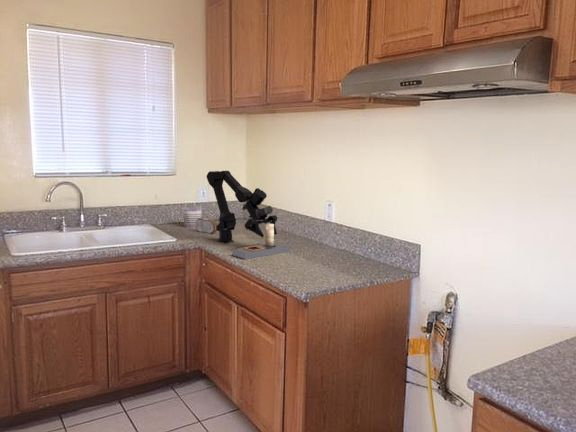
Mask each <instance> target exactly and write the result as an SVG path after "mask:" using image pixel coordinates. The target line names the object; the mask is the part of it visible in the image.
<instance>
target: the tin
mask: <svg viewBox="0 0 576 432" xmlns="http://www.w3.org/2000/svg"><path fill="white" fill-rule="evenodd" d="M217 225H218V224H217V222H216V221H215V220H214V219H213V218H212V219H211V218H205V217H202V218H200V219H198V220H197V221H196V228H195V229H196V230H197V231H198V232H199V233H203V234H210V235H211V234H216V233H217V232H218V231H217V229H216V226H217Z"/></svg>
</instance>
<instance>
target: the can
mask: <svg viewBox="0 0 576 432" xmlns="http://www.w3.org/2000/svg"><path fill="white" fill-rule="evenodd" d="M182 209H183V228H185V229H197V228H196V221H197V220H198V219H200V218H203V217H202V216H203V215H202V209H203V207H200V206H196V205H194V206H184V207H183V208H182Z"/></svg>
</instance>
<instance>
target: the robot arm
mask: <svg viewBox="0 0 576 432" xmlns="http://www.w3.org/2000/svg"><path fill="white" fill-rule="evenodd" d="M206 179H207V182H208V185H209V186H210V187H212V189H213V193H214V195H215V199H216V203H217V207H218V210H219V213H220V214H219V218H218V220H219V223H218V224H217V226H216V229H217V231H216V232H218V233H219V234H218V235H219V240H217V242H218V243H223V244H227V243H233V242H234V239H233V233H232V232H233V231H234V230H235V227H236V224H237V218H236V214H235V212H231V211H230V208H229V205H228V202H227V197H226V195H225V194H226V193H225V191H224V188H223V183H224V182H225V183H226V184H227V185H228V187H229V188H230V189H231V190H232V191H233V192H234V196H235V198H236V200H237V201H238V202H239V203H244V204H243V206H242V210H243V211H244V210H246V211H247V213H248V214H249V216H248V219H247V221H246V222H245V224H244V228H245V230H248V231H250V232H252V233H254V234H256V235H258V236H259V237H260V238H264V237H265V236H264V233H263V232H262V229H261V227H260V225H262V224H263V225H264V224H265V225H266V224H269V223H270V224H274V236H275V235H277V234H278V232H277V229H276V222H277V221H278V219H279V218H278V216H277V215H275V214H272V213H273V211H274V210H273V207H272V206H271V205H267V206H266V207H263V208H260V207H259V206H261V205H262V203H263V202H264V201H265V199H267V193H266V192H264V190H262V189H260V188H259V187H257V188H255V189H254V191H253V192H252V191H251V190H249V188H246V187H244V186H242V184H241V183H240V182H239V181H238V180H237V179H236V178H235V177H234V176H233V175H232V173H231V171H230V170H221V171H219V170H215V171H208V172H207V174H206ZM269 214H272V215H269Z"/></svg>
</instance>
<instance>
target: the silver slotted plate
mask: <svg viewBox="0 0 576 432" xmlns="http://www.w3.org/2000/svg"><path fill="white" fill-rule="evenodd" d="M290 247H291V245H289V244H286V243H282V242H278V241H274V247H270V248H268V247H266V243H263V244H256V245H252V246H245V247H239V248H233V249H232V250H231V251H232V252H231V253H232V255H231V256H233V257H236V258H240V259H242V260H251V259H256V258H261V257H267V256H271V255H277V254H282V253H287V252H290V251H291V248H290Z"/></svg>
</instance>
